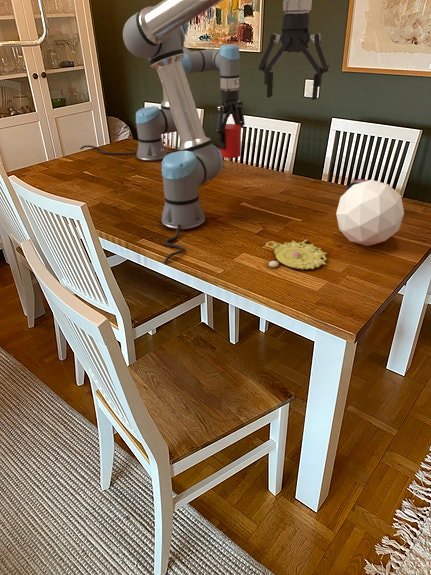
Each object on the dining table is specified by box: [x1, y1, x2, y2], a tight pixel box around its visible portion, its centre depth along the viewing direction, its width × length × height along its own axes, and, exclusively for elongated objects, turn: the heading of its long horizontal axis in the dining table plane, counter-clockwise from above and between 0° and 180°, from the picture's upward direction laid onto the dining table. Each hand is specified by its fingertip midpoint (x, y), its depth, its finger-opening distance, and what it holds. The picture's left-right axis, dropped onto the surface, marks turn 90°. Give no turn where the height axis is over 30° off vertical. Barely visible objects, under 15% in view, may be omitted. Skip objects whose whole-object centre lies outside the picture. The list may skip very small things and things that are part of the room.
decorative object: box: [265, 238, 328, 270], centre depth 132 cm, size 21×2×20 cm
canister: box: [218, 123, 242, 159], centre depth 187 cm, size 9×9×12 cm
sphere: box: [335, 179, 405, 247], centre depth 135 cm, size 19×20×20 cm
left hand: (230, 146), depth 188 cm, fingers closed on canister, 9 cm apart
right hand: (291, 98), depth 130 cm, fingers open, 13 cm apart
